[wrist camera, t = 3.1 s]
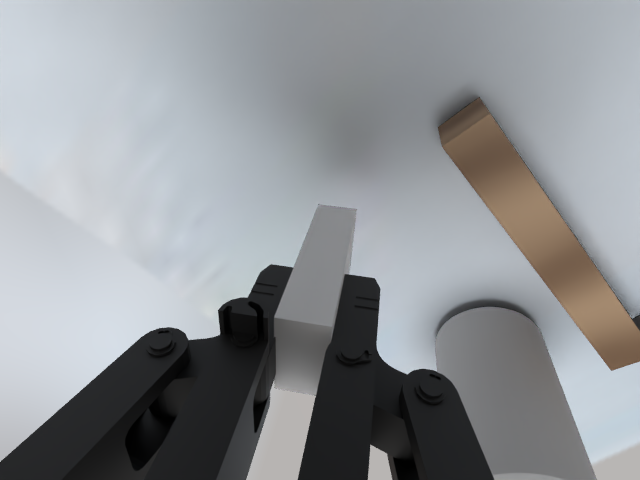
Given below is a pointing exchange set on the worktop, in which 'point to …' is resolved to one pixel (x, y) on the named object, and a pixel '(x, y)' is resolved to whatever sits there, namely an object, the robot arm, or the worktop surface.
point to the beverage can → (512, 395)
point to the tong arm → (539, 232)
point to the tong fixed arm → (637, 321)
